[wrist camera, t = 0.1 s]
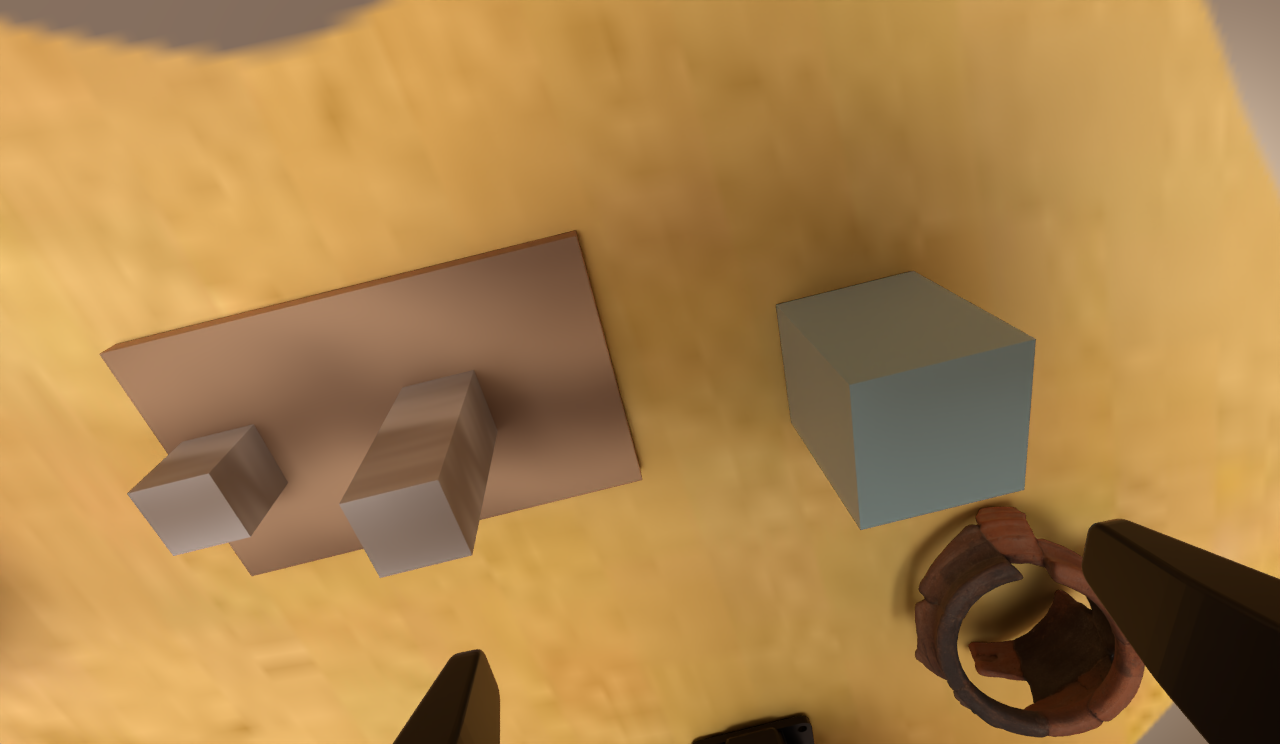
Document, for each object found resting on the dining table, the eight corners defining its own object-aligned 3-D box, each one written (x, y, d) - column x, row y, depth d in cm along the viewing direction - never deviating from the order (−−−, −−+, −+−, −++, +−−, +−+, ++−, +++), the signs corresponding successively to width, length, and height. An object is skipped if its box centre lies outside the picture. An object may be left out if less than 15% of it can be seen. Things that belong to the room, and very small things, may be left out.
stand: (640, 468, 25) (665, 609, 18) (260, 561, 25) (149, 735, 18) (575, 230, 21) (579, 301, 14) (115, 344, 21) (-100, 469, 14)
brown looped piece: (914, 668, 33) (945, 774, 25) (874, 498, 33) (893, 550, 25) (1175, 648, 30) (1306, 762, 22) (1131, 458, 30) (1246, 504, 22)
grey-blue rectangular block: (915, 391, 25) (1024, 489, 19) (791, 422, 25) (860, 529, 19) (913, 270, 23) (1035, 339, 17) (776, 304, 23) (849, 385, 17)
